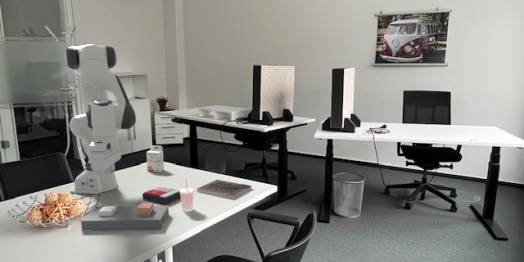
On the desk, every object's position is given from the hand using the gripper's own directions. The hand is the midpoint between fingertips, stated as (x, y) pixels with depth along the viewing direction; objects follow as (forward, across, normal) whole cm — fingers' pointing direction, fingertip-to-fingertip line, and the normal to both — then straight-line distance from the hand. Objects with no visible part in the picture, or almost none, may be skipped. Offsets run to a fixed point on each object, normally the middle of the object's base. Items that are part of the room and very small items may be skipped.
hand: (108, 176), depth 146 cm
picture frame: (+20, -37, +42) cm, 59 cm away
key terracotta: (+16, 0, +13) cm, 21 cm away
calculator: (+20, -27, +13) cm, 36 cm away
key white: (+17, 0, -2) cm, 17 cm away
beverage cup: (+20, -13, +28) cm, 36 cm away
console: (+19, 0, +6) cm, 20 cm away
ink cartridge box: (+19, -72, -2) cm, 75 cm away
